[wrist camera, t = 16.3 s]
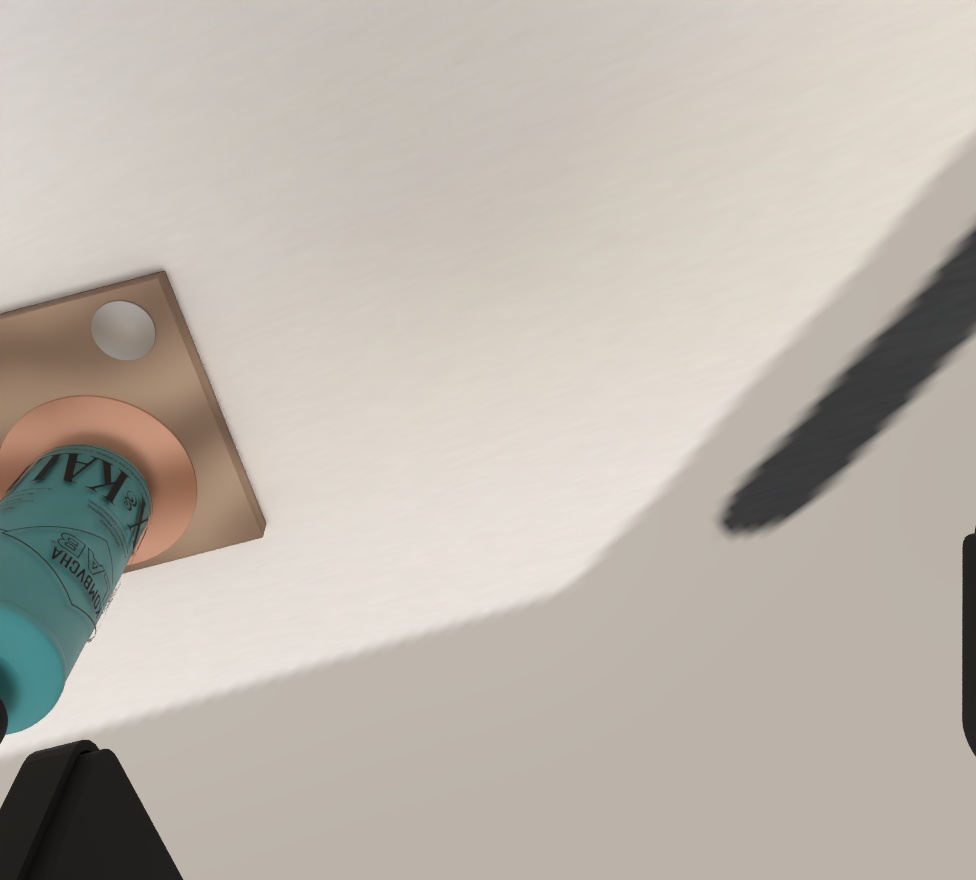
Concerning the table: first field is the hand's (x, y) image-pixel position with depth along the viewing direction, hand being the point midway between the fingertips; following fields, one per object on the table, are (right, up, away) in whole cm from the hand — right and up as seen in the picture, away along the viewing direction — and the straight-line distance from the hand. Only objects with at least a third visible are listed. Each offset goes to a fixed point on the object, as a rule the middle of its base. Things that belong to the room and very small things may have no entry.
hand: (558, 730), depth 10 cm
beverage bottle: (-21, +1, +38) cm, 43 cm away
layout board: (-22, +3, +38) cm, 44 cm away
